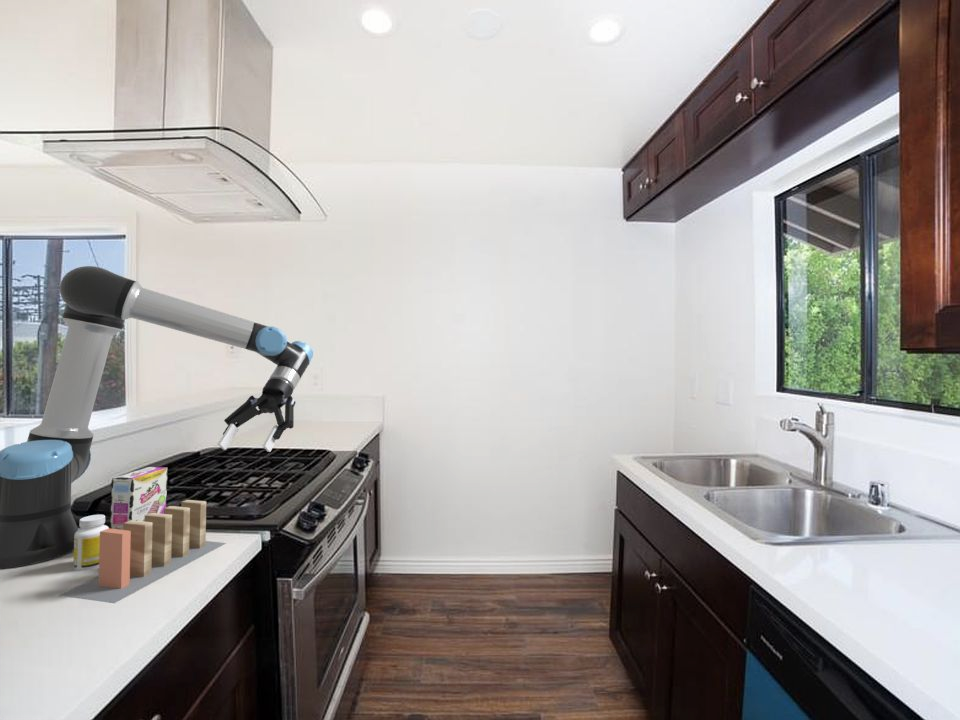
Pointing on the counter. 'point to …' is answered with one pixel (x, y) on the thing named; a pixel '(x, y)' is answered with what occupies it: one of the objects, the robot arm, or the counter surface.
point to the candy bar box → (138, 495)
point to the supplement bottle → (88, 542)
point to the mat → (137, 578)
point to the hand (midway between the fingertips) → (243, 448)
